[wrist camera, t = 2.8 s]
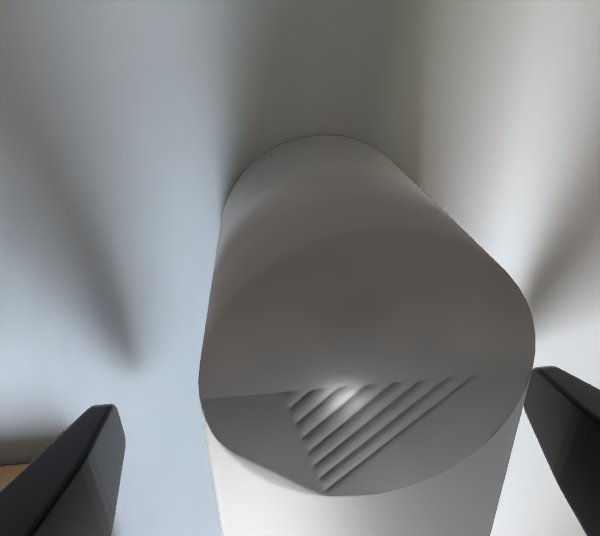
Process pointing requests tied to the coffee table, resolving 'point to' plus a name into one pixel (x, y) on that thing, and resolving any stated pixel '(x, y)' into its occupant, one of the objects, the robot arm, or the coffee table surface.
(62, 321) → the coffee table surface
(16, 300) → the coffee table surface
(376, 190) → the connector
